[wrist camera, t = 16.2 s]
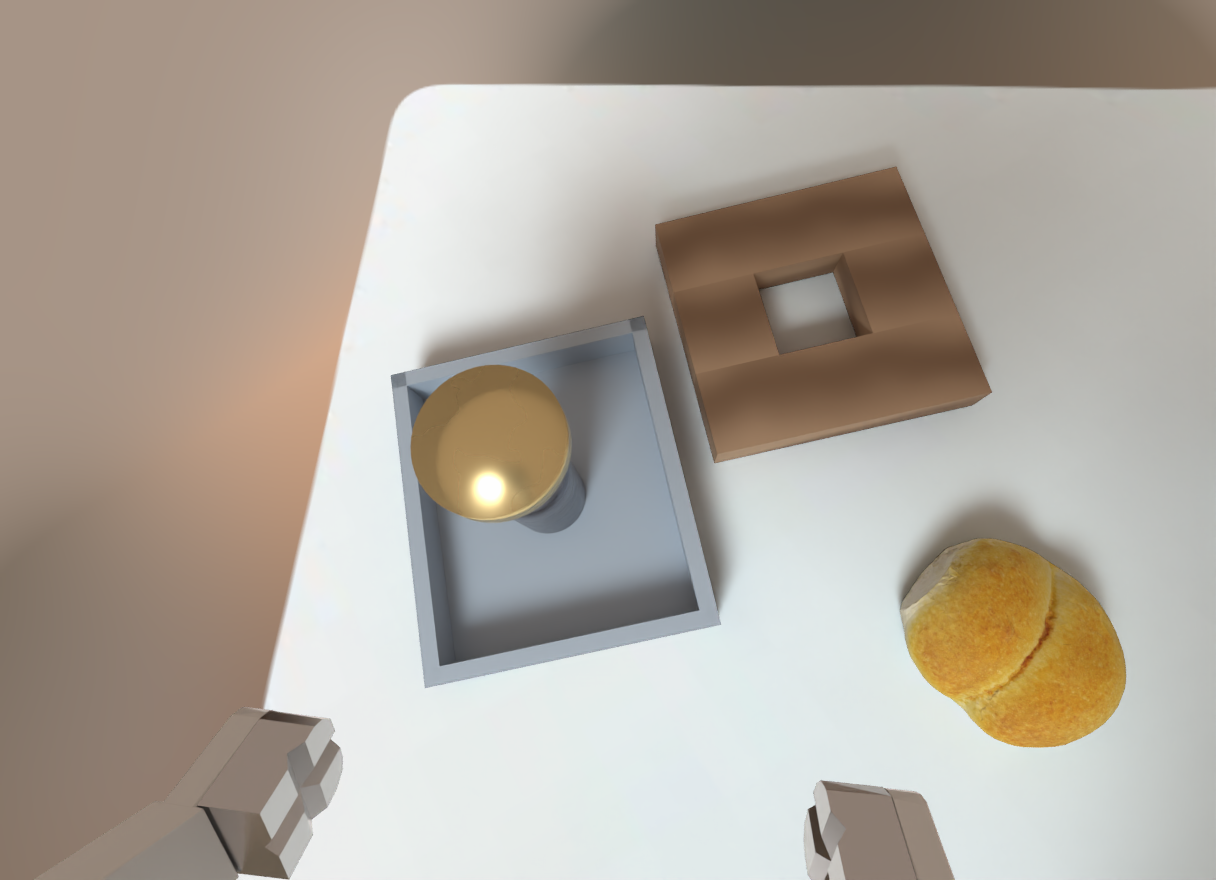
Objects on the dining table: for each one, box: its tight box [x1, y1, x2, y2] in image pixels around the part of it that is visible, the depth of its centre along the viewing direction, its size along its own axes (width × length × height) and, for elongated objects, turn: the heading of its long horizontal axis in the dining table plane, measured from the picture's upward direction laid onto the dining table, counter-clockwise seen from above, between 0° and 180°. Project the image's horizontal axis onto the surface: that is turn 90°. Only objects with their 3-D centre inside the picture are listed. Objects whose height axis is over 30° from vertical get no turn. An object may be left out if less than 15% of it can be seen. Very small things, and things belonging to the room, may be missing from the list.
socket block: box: [655, 167, 992, 463], centre depth 32 cm, size 14×14×2 cm
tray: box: [391, 316, 721, 688], centre depth 31 cm, size 16×14×3 cm
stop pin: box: [410, 365, 586, 534], centre depth 26 cm, size 6×6×11 cm
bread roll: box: [900, 538, 1126, 747], centre depth 26 cm, size 8×9×4 cm
